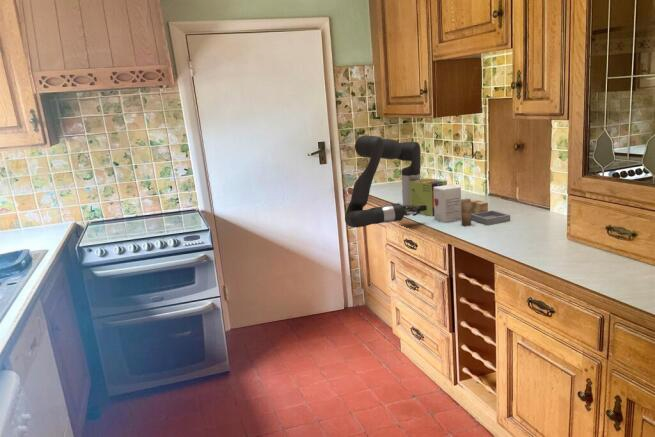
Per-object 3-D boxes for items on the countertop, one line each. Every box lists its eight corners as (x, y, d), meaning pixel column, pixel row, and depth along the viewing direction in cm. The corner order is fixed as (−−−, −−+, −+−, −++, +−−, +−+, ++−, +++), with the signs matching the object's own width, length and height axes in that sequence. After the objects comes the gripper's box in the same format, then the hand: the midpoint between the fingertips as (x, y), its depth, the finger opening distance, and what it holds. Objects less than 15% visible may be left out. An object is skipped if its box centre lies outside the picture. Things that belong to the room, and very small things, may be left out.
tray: (470, 219, 230) (469, 214, 229) (492, 215, 234) (492, 210, 233) (486, 225, 219) (486, 219, 218) (510, 220, 223) (510, 215, 222)
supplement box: (433, 219, 237) (432, 186, 234) (450, 216, 240) (449, 184, 237) (444, 222, 229) (443, 189, 225) (462, 219, 232) (461, 186, 228)
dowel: (459, 224, 224) (459, 199, 221) (467, 223, 225) (467, 198, 223) (465, 226, 220) (464, 201, 218) (473, 224, 221) (472, 199, 219)
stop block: (467, 213, 243) (467, 200, 241) (474, 211, 244) (474, 199, 242) (480, 217, 233) (480, 204, 232) (487, 215, 235) (487, 202, 233)
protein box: (432, 216, 242) (431, 183, 239) (410, 212, 255) (408, 180, 251) (448, 212, 248) (447, 180, 244) (425, 208, 260) (424, 177, 257)
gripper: (396, 207, 217) (433, 201, 222) (383, 202, 229) (417, 197, 235) (397, 224, 219) (433, 218, 224) (384, 218, 231) (418, 213, 236)
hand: (425, 207), depth 229 cm, fingers closed
